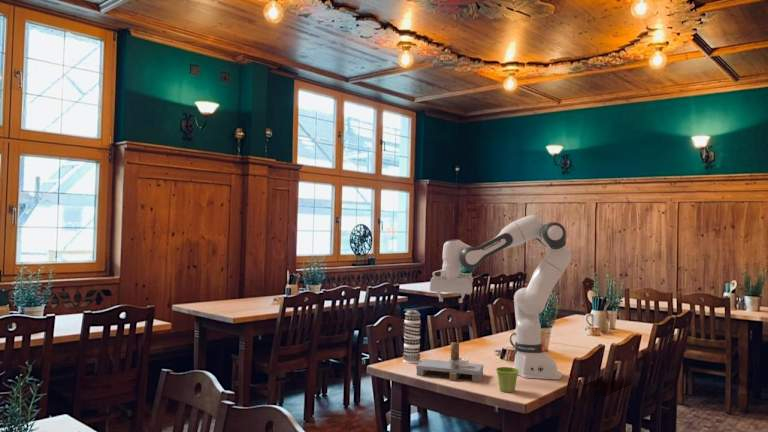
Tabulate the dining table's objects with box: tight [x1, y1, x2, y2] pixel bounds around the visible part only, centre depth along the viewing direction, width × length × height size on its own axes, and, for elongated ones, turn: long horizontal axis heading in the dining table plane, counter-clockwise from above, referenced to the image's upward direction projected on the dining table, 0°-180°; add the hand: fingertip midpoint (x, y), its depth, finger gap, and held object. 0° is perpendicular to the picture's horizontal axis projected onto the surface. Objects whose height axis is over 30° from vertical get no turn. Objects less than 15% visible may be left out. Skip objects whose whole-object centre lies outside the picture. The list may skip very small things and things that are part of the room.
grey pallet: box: [415, 358, 484, 382], centre depth 259 cm, size 28×18×4 cm, turn 72°
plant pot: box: [495, 366, 519, 394], centre depth 236 cm, size 9×9×9 cm
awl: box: [450, 341, 460, 369], centre depth 253 cm, size 4×4×11 cm
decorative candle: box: [402, 309, 422, 364], centre depth 284 cm, size 9×9×25 cm
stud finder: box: [448, 357, 470, 367], centre depth 258 cm, size 8×4×3 cm, turn 72°
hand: (450, 302), depth 273 cm, fingers open, 8 cm apart
